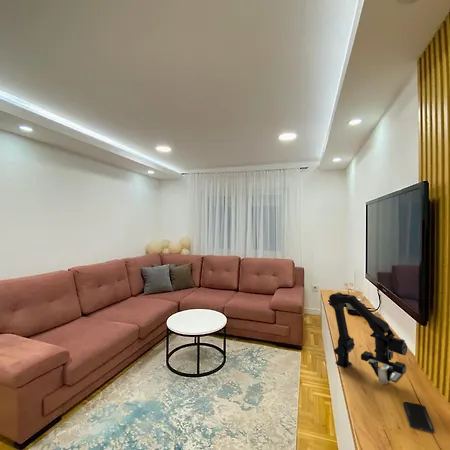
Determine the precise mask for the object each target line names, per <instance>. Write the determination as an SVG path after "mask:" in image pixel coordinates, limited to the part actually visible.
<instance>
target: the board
mask: <svg viewBox="0 0 450 450" xmlns="http://www.w3.org/2000/svg"><path fill="white" fill-rule="evenodd" d="M381 367H385V368H387V369H388V368H389V366H388V365H385V364H383V365H382V366H381ZM402 375H403V374H400V373H397V372H394V373H392V375H391V378H390V381H392V382H393V383H396V381H398V380H399V378H400V377H401V376H402Z"/></svg>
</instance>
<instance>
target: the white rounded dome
mask: <svg viewBox="0 0 450 450" xmlns="http://www.w3.org/2000/svg"><path fill="white" fill-rule="evenodd" d="M377 379H378V383H381V384H383V385H388V384H389V382H390V381H388V379H387V368H385V367H382V366H378V377H377Z"/></svg>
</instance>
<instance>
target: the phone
mask: <svg viewBox="0 0 450 450" xmlns="http://www.w3.org/2000/svg"><path fill="white" fill-rule="evenodd" d="M402 403H403V408H404V411H405V412H404V413H405V415H406V418H407V422H408V426H409V427H410V428H411V429H416V430H419V431H422V432H423V431H424V432H428V433H431V434H433V433H435V429H434V426H433V423H432V421H431V418H430V416H429V413H428V410H427V407H426V406H424V405H423V404H419V403H414V402H412V401H411V402H410V401H406V400H404V401H403V402H402Z"/></svg>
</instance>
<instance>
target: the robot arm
mask: <svg viewBox="0 0 450 450" xmlns="http://www.w3.org/2000/svg"><path fill="white" fill-rule="evenodd" d="M328 299H329V300H328V301H329V303H330V306H331V307H332V309H334V314H335V320H336V325H337V332H338V339H337V347H335V348H334V349H333V351H334V354H335V355H337V361H335V364H336V365H338V366H341V367H342V368H348V367H350V366H351V365H352V362H351V361H350V357H349V353H351V352H352V350H354V349H355V345H356V344H355V342H354V341H355V339H354V337H351V336H350V335H349V330H348V324H347V320H346V315H345V309H344V308H345V304H349V305H350V306H351V307H352V309H354V311H356V312H357V313H358V314H359V315H360V316H361V317H362V318H363V319H364V320H365V321H366V322H367V324H368V326H369V328H370V329H371V331H372V333H371V334H369V337H371V338H374V348H375V349H374V352H375V356H374V353H373V352H370V351H367V350H365V351H364V352H362V353H361V355H360V360H361V361H365V362H368V364H369V365H370V367H371V368H372V369H373V371H374V373H375V375H376V377H377V378H378V367H379V363H380V364H383V365H388V366H389V368H388V369H387V379H388V381H389V382H390V381H391V380H390V378H391V375H392V373H394V372H397V373H400V374H402V375H404V373H405V372H406V371H407V365H406V364H405V363H403V362H400V361H395V362H394V361H392V359H394V353H395V354H398V355H402V356H403V357H404V356H406V355H407V352H408V345H407V343H406V341H405V339H401V338H397V337H396V336H395V333H394V332H393V330H392V329H391V328H390V325H389V324H388V322H386V321H385V320H384V319H382V318H380V317H378V316H376V315H375V314H373V313H372V312H371V311H370V309H368V308H367V307H366V306H365V305H364V304H363V303H362V302H361V300H359V299H358V298H357V297H356V296H355V295H354V294H347V293H342V292H338V291H337V292H335V293H331V294H330V295H329V298H328Z"/></svg>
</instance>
